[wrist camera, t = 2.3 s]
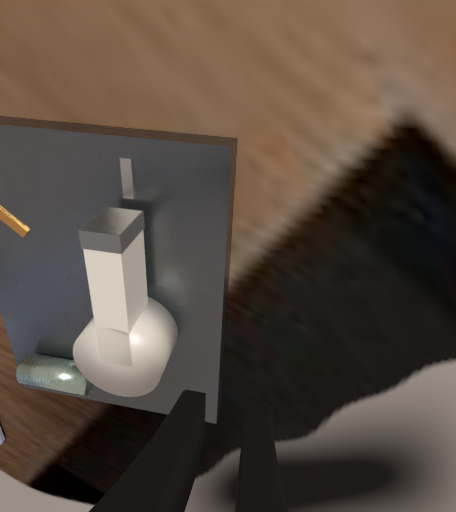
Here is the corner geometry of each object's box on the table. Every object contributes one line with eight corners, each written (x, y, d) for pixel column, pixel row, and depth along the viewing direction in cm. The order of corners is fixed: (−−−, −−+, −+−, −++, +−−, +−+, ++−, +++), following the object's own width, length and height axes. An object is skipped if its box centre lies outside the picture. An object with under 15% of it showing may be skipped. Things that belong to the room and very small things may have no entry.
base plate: (221, 404, 25) (210, 450, 22) (37, 370, 27) (5, 409, 24) (237, 138, 17) (223, 158, 14) (-33, 113, 18) (-94, 126, 16)
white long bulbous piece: (178, 363, 22) (162, 404, 19) (104, 350, 22) (79, 389, 20) (175, 211, 17) (153, 240, 15) (82, 200, 18) (46, 226, 15)
